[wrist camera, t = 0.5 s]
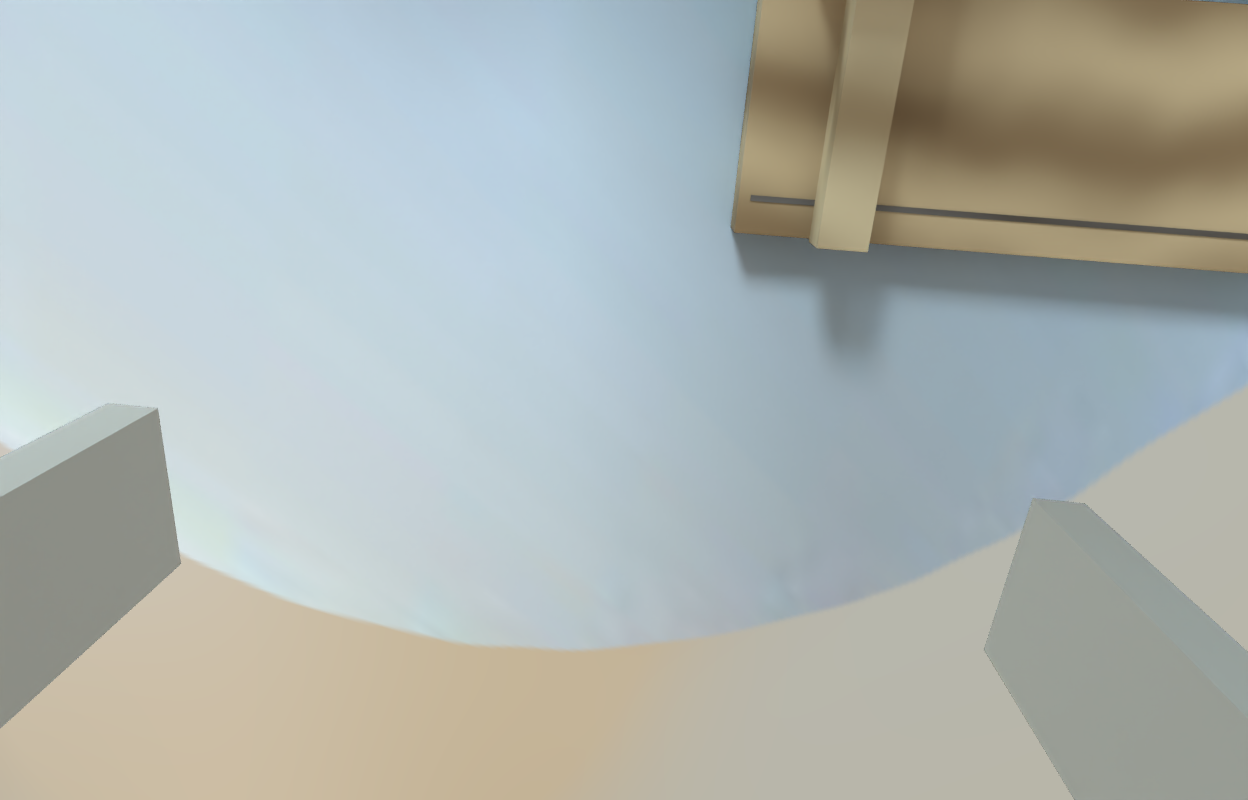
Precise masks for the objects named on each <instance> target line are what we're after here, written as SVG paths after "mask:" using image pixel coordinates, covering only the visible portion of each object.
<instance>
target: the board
mask: <svg viewBox="0 0 1248 800" xmlns="http://www.w3.org/2000/svg"><path fill="white" fill-rule="evenodd" d="M845 6H846V0H758V2H757V11H756V19H755V27H754V36H753V44H752V52H751V61H750V69H749V78H748V86H747V94H746V103H745V111H744V119H743V128H742V136H741V144H740V153H739V161H738V170H737V178H736V186H735V195H734V203H733V211H732V220H731V228H732V230H733V231H734V233H747V234H759V235H772V236H784V237H797V238H809V236H810V230H811V223H812V217H813V211H814V204H815V198H816V191H817V185H818V179H819V172H820V166H821V160H822V153H823V147H824V140H825V134H826V128H827V121H828V115H829V108H830V102H831V96H832V89H833V83H834V77H835V70H836V64H837V57H838V51H839V45H840V38H841V32H842V26H843V19H844V13H845ZM870 243H872V244H885V245H897V246H910V247H923V248H935V249H948V250H960V251H973V252H985V253H998V254H1011V255H1023V256H1036V257H1048V258H1061V259H1073V260H1086V261H1099V262H1111V263H1124V264H1136V265H1149V266H1161V267H1174V268H1187V269H1199V270H1212V271H1224V272H1237V273H1248V4H1236V3H1222V2H1208V1H1193V0H914V5H913V10H912V16H911V21H910V27H909V32H908V37H907V43H906V48H905V54H904V59H903V64H902V70H901V75H900V81H899V86H898V91H897V97H896V102H895V108H894V113H893V118H892V124H891V129H890V135H889V140H888V145H887V151H886V156H885V162H884V167H883V172H882V178H881V183H880V189H879V194H878V199H877V205H876V210H875V216H874V221H873V226H872V232H871V237H870Z"/></svg>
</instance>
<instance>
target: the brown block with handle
mask: <svg viewBox="0 0 1248 800" xmlns="http://www.w3.org/2000/svg"><path fill="white" fill-rule="evenodd" d="M913 5H914V0H846V6H845V13H844V19H843V26H842V32H841V38H840V45H839V51H838V57H837V64H836V70H835V77H834V83H833V89H832V96H831V102H830V108H829V115H828V121H827V128H826V134H825V140H824V147H823V153H822V160H821V166H820V172H819V179H818V185H817V191H816V198H815V204H814V211H813V217H812V223H811V230H810V236H809V242H810V243H811V244H812V245H813V246H815V247H816V248H820V249H832V250H845V251H857V252H868V248H869V243H870V237H871V232H872V226H873V221H874V216H875V210H876V205H877V199H878V194H879V189H880V183H881V178H882V172H883V167H884V162H885V156H886V151H887V145H888V140H889V135H890V129H891V124H892V118H893V113H894V108H895V102H896V97H897V91H898V86H899V81H900V75H901V70H902V64H903V59H904V54H905V48H906V43H907V37H908V32H909V27H910V21H911V16H912V10H913Z"/></svg>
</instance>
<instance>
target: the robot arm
mask: <svg viewBox="0 0 1248 800" xmlns="http://www.w3.org/2000/svg"><path fill="white" fill-rule="evenodd" d="M180 564H181V561H180V554H179V547H178V541H177V534H176V527H175V520H174V514H173V507H172V500H171V493H170V487H169V480H168V473H167V467H166V460H165V453H164V446H163V440H162V433H161V426H160V419H159V413H158V408H150V407H141V406H131V405H121V404H111V403H107V404H105V405H103V406H101V407H99V408H97V409H95V410H93V411H91V412H89V413H87V414H85V415H83V416H82V417H80V418H78V419H76V420H74V421H72V422H70V423H68V424H66V425H64V426H62V427H60V428H58V429H56V430H54V431H52V432H50V433H48V434H46V435H44V436H42V437H40V438H38V439H36V440H34V441H32V442H30V443H28V444H26V445H24V446H22V447H20V448H18V449H16V450H14V451H12V452H10V453H8V454H6V455H4V456H2V457H0V728H1V727H3V726H4V725H5V724H6V723H7V722H8V721H9V720H10V719H11V718H12V717H14V716H15V715H16V714H17V713H18V712H19V711H20V710H21V709H22V708H23V707H24V706H25V705H27V704H28V703H29V702H30V701H31V700H32V699H33V698H34V697H35V696H37V695H38V694H39V693H40V692H41V691H42V690H43V689H44V688H45V687H46V686H47V685H48V684H50V683H51V682H52V681H53V680H54V679H55V678H56V677H57V676H58V675H60V674H61V673H62V672H63V671H64V670H65V669H66V668H67V667H68V666H69V665H71V664H72V663H73V662H74V661H75V660H76V659H77V658H78V657H79V656H80V655H82V654H83V653H84V652H85V651H86V650H87V649H88V648H89V647H90V646H91V645H92V644H94V643H95V642H96V641H97V640H98V639H99V638H100V637H101V636H102V635H104V634H105V633H106V632H107V631H108V630H109V629H110V628H111V627H112V626H113V625H114V624H116V623H117V622H118V620H120V619H121V618H122V617H123V616H124V615H125V614H127V613H128V612H129V611H130V610H131V609H132V608H133V607H134V606H135V605H136V604H137V603H139V602H140V601H141V600H142V599H143V598H144V597H145V596H146V595H147V594H148V593H150V592H151V591H152V590H153V589H154V588H155V587H156V586H157V585H158V584H159V583H160V582H162V581H163V579H165V578H166V577H167V576H168V575H169V574H170V573H172V572H173V571H174V570H175V569H176V568H177V567H178V566H179V565H180ZM984 650H985V652H986V654H987V656H988V657H989V659H990V661H991V662H992V664H993V665H994V667H995V669H996V671H997V672H998V674H999V676H1000V677H1001V679H1002V680H1003V682H1004V684H1005V685H1006V687H1007V689H1008V690H1009V692H1010V694H1011V695H1012V697H1013V699H1014V700H1015V702H1016V704H1017V705H1018V707H1019V709H1020V710H1021V712H1022V714H1023V715H1024V717H1025V719H1026V720H1027V722H1028V724H1029V725H1030V727H1031V729H1032V730H1033V732H1034V734H1035V735H1036V737H1037V739H1038V740H1039V742H1040V743H1041V745H1042V747H1043V749H1044V750H1045V752H1046V754H1047V755H1048V757H1049V759H1050V760H1051V762H1052V763H1053V765H1054V767H1055V768H1056V770H1057V772H1058V773H1059V775H1060V777H1061V778H1062V780H1063V782H1064V783H1065V785H1066V786H1067V788H1068V790H1069V792H1070V793H1071V795H1072V797H1073V798H1074V800H1248V652H1247V651H1246V650H1245V649H1244V648H1243V647H1242V646H1241V645H1240V644H1239V643H1238V642H1236V641H1235V640H1234V639H1233V638H1232V637H1231V636H1230V635H1229V634H1228V633H1227V632H1226V631H1224V630H1223V629H1222V628H1221V627H1220V626H1219V625H1218V624H1217V623H1216V622H1215V621H1213V620H1212V619H1211V618H1210V617H1209V616H1208V615H1207V614H1206V613H1205V612H1203V611H1202V610H1201V609H1200V608H1199V607H1198V606H1197V605H1196V604H1195V603H1193V601H1191V600H1190V599H1189V598H1188V597H1187V596H1186V595H1185V594H1184V593H1183V592H1181V591H1180V590H1179V589H1178V588H1177V587H1176V586H1175V585H1174V584H1173V583H1172V582H1170V580H1168V579H1167V578H1166V577H1165V576H1164V575H1163V574H1162V573H1161V572H1159V570H1157V569H1156V568H1155V567H1154V566H1153V565H1152V564H1151V563H1150V562H1148V560H1146V559H1145V558H1144V557H1143V556H1142V555H1141V554H1140V553H1139V552H1137V551H1136V550H1135V549H1134V548H1133V547H1132V546H1131V545H1130V544H1129V543H1128V542H1127V541H1126V540H1124V539H1123V538H1122V537H1121V536H1120V535H1119V534H1118V533H1117V532H1115V530H1113V529H1112V528H1111V527H1110V526H1109V525H1108V524H1107V523H1106V522H1105V521H1103V520H1102V519H1101V518H1100V517H1099V516H1098V515H1097V514H1096V513H1095V512H1094V511H1093V510H1092V509H1090V508H1089V507H1088V506H1087V505H1086V504H1085V503H1074V502H1065V501H1055V500H1046V499H1036V498H1033V499H1032V502H1031V505H1030V508H1029V511H1028V514H1027V517H1026V521H1025V524H1024V527H1023V530H1022V533H1021V536H1020V539H1019V542H1018V546H1017V548H1016V552H1015V555H1014V558H1013V561H1012V564H1011V567H1010V570H1009V573H1008V577H1007V579H1006V582H1005V586H1004V589H1003V592H1002V595H1001V598H1000V601H999V604H998V608H997V610H996V613H995V617H994V620H993V623H992V626H991V629H990V632H989V635H988V638H987V641H986V644H985V648H984Z"/></svg>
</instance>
